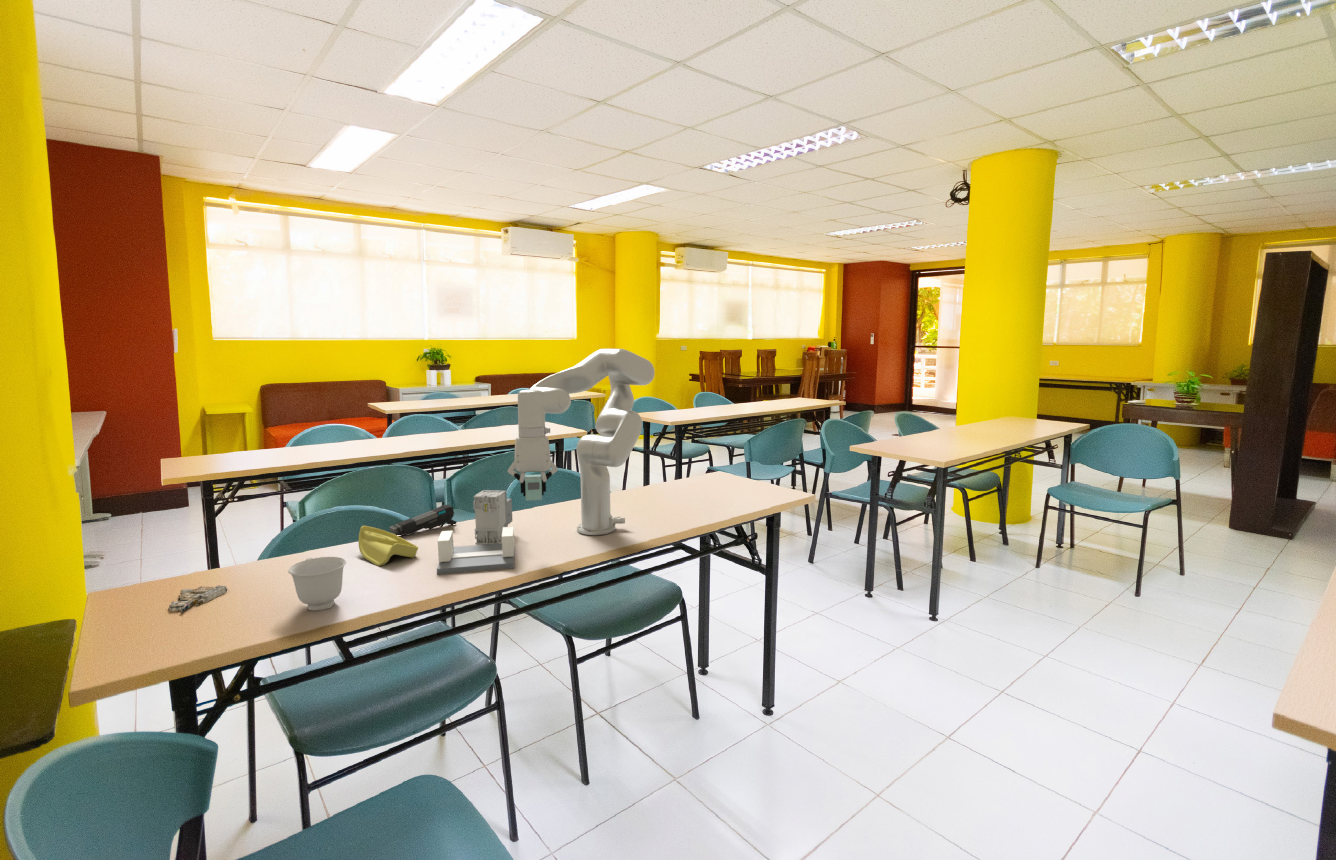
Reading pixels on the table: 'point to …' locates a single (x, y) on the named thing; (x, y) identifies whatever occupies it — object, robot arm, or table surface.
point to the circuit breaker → (491, 515)
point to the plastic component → (383, 545)
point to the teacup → (318, 581)
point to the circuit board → (196, 597)
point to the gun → (425, 521)
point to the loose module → (533, 487)
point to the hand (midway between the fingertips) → (533, 494)
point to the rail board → (475, 554)
